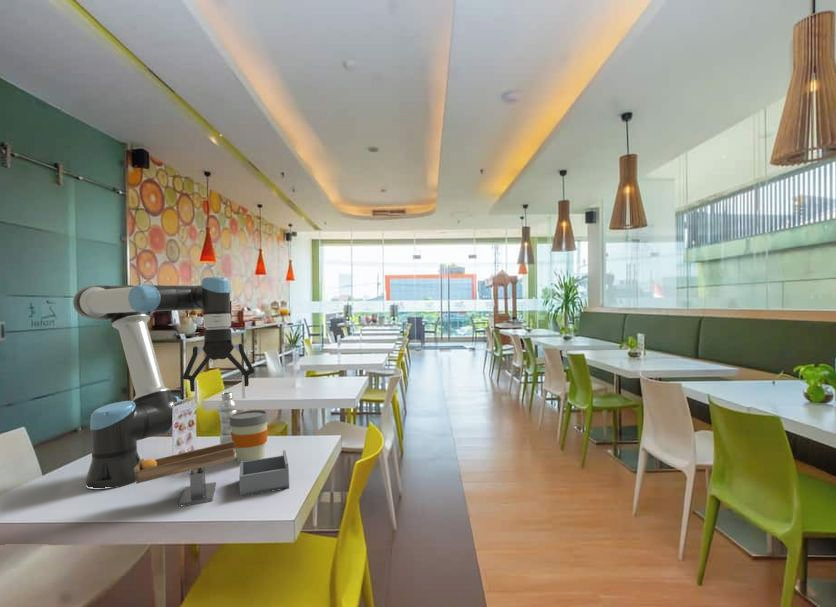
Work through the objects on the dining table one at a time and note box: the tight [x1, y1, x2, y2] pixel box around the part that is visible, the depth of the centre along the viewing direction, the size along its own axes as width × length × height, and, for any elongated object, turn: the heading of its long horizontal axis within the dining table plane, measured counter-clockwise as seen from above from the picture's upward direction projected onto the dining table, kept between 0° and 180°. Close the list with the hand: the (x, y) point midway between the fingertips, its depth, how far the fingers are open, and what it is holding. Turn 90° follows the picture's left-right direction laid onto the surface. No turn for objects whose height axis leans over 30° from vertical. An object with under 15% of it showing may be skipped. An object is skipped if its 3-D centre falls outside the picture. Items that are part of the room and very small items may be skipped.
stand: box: [178, 467, 217, 507], centre depth 127 cm, size 12×8×7 cm, turn 20°
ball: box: [141, 458, 157, 470], centre depth 123 cm, size 4×4×4 cm
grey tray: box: [238, 450, 290, 497], centre depth 132 cm, size 13×13×7 cm
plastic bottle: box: [217, 391, 238, 444], centre depth 171 cm, size 6×7×20 cm
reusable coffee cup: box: [230, 409, 269, 462], centre depth 157 cm, size 13×12×15 cm
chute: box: [134, 441, 236, 485], centre depth 129 cm, size 17×24×5 cm
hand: (220, 399), depth 136 cm, fingers open, 12 cm apart
